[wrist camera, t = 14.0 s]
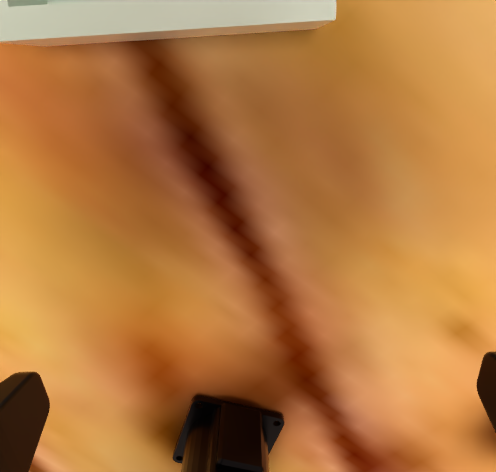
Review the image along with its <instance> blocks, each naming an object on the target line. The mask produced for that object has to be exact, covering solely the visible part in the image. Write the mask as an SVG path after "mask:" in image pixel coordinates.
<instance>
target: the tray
mask: <svg viewBox="0 0 496 472" xmlns="http://www.w3.org/2000/svg"><path fill="white" fill-rule="evenodd" d="M334 20H336V0H0V43H7V44H20V45H32V46H45V47H46V46H62V45H77V44H93V43H108V42H124V41H139V40H155V39H171V38H186V37H202V36H217V35H233V34H249V33H264V32H280V31H295V30H311V29H318V28H320V27H322V26H324V25H326V24H328V23H330V22H332V21H334Z"/></svg>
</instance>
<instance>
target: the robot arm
mask: <svg viewBox="0 0 496 472" xmlns="http://www.w3.org/2000/svg"><path fill="white" fill-rule="evenodd" d="M477 391H478V394H479V397H480V399H481V401H482V404H483V406H484V408H485V410H486V412H487V415H488V417H489V419H490V421H491V423H492V426H493V428H494V430H495V432H496V352H488V353H486V354H485V355H484V357H483V360H482V364H481V368H480V372H479V376H478V379H477ZM198 403H201V404H198ZM49 408H50V403H49V398H48V395H47V393H46V390H45V387H44V385H43V382H42V379H41V377H40V375H39V374H38V373H37V372H18V373H15V374H13V375H11V376H10V377H8V378H7V379H5V380H4V381H2V382H1V383H0V472H28V471H29V468H30V466H31V463H32V460H33V457H34V454H35V451H36V448H37V445H38V442H39V439H40V436H41V434H42V431H43V428H44V425H45V422H46V419H47V416H48V413H49ZM283 426H284V417H283V416H282V415H281V414H279V413H274V412H270V411H266V410H261V409H257V408H252V407H248V406H244V405H239V404H235V403H231V402H226V401H222V400H218V399H213V398H209V397H205V396H195V397H194V398H193V399H192V402H191V405H190V408H189V410H188V413H187V416H186V419H185V422H184V424H183V427H182V430H181V433H180V436H179V439H178V441H177V444H176V447H175V450H174V453H173V460H174V461H175V462H178V463H182V468H181V472H269V459H268V455H269V453H270V451H271V449H272V447H273V445H274V443H275V441H276V439H277V437H278V435H279V433H280V431H281V430H282V428H283Z"/></svg>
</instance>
